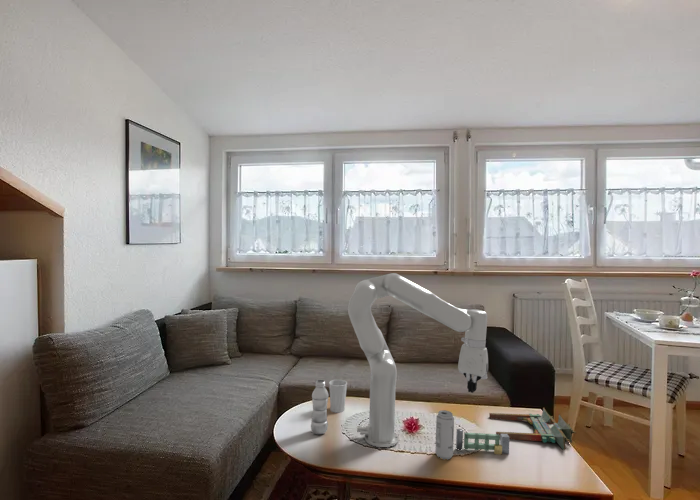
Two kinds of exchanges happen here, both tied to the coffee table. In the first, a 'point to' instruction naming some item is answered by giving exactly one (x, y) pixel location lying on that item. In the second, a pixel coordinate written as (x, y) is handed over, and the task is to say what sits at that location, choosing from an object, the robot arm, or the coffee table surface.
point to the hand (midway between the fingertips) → (471, 391)
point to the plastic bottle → (319, 408)
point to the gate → (477, 445)
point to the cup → (337, 395)
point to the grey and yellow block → (502, 445)
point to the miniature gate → (539, 428)
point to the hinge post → (459, 439)
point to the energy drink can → (444, 434)
